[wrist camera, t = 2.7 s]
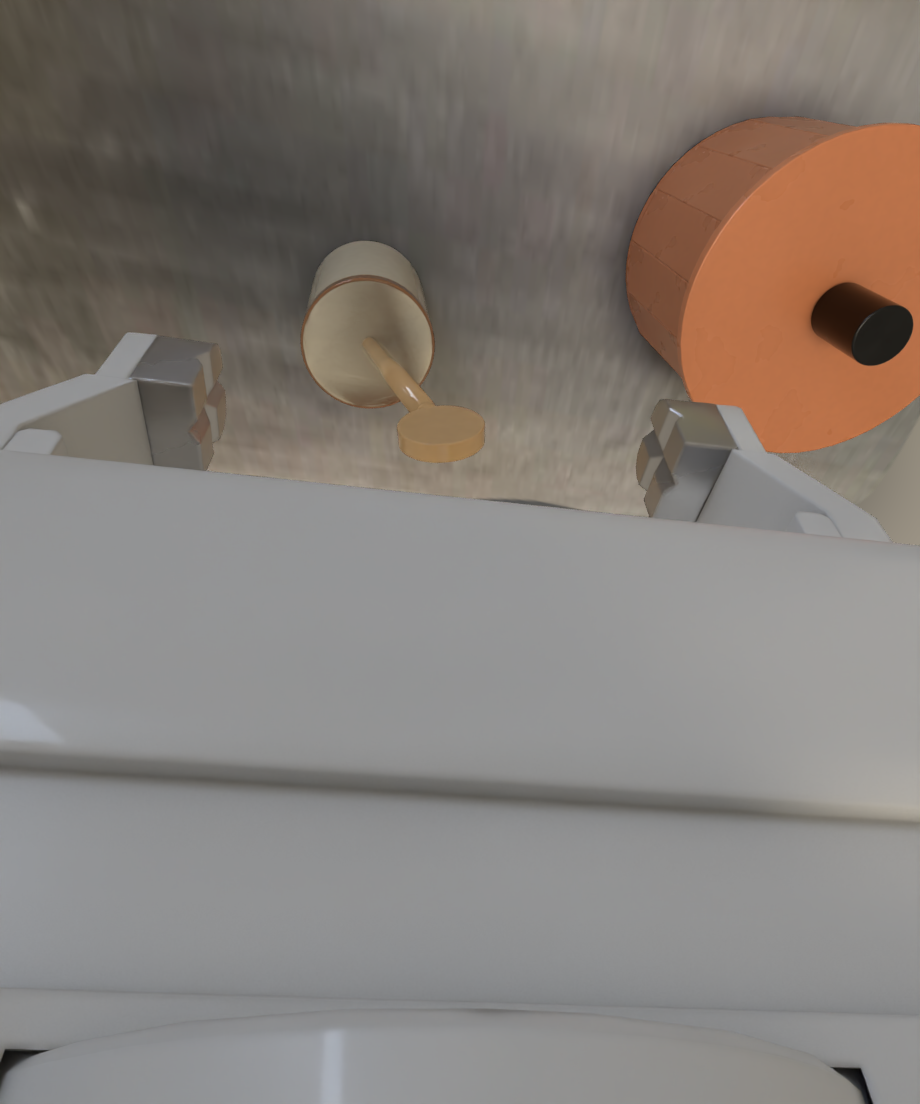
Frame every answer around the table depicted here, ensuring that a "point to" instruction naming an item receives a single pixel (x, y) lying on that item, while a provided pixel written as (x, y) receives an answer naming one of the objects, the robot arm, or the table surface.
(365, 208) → the table surface
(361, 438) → the table surface
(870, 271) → the pot lid
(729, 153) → the pot
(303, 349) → the crock
